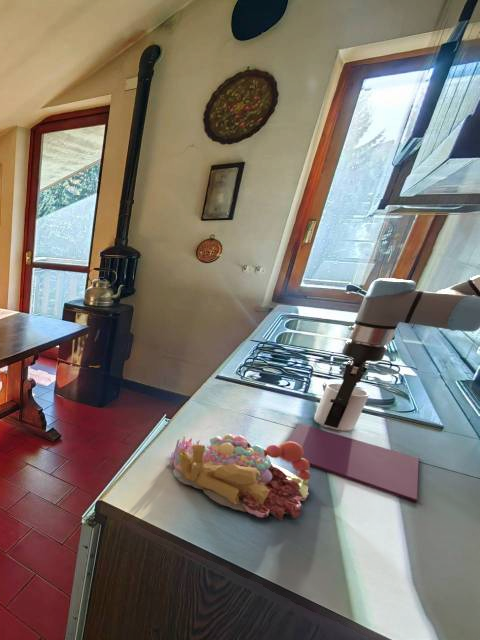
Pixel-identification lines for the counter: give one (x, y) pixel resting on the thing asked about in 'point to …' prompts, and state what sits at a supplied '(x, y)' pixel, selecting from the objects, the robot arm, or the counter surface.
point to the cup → (352, 409)
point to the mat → (359, 461)
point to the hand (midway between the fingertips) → (334, 418)
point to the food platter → (244, 474)
